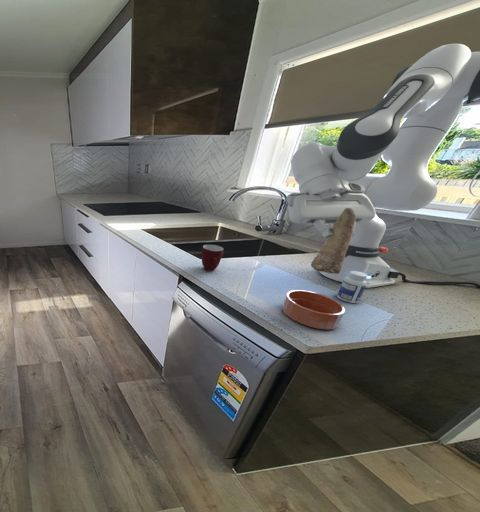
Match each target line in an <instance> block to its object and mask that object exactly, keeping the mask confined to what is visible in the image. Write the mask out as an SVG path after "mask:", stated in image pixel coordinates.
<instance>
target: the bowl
mask: <svg viewBox="0 0 480 512" xmlns="http://www.w3.org/2000/svg"><path fill="white" fill-rule="evenodd" d="M281 308H282V312H283V313H284V314H285V315H286V316H287V317H288V318H290V319H292V320H293V321H295V322H297V323H299V324H301V325H303V326H307V327H309V328H313V329H318V330H335V329H337V328H338V327H339V325H340V323H341V321H342V319H343V317H344V314H345V313H346V309H345V307H344V305H342V304H341V303H340V302H339V301H337V300H335V299H333V298H331V297H329V296H328V295H324V294H321V293H319V292H315V291H310V290H302V289H292V290H289V291H287V292H286V294H285V297H284V299H283V303H282V305H281Z"/></svg>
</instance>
